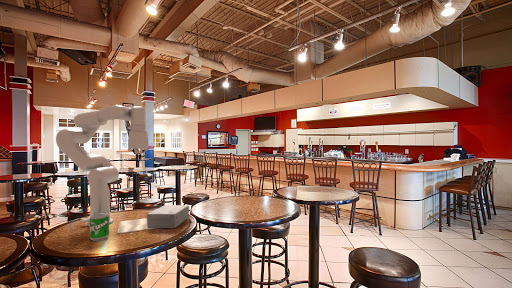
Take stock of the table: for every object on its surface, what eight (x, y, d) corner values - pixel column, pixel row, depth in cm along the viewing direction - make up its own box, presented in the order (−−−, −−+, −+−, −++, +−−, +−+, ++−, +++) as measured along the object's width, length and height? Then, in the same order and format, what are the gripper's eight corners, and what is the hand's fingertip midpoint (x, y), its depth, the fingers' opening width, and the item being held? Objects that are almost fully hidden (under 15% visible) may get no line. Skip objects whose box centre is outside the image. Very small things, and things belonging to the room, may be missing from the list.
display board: (117, 234, 122) (117, 233, 122) (120, 222, 142) (120, 221, 142) (176, 225, 134) (176, 224, 134) (171, 215, 154) (171, 214, 154)
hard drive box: (174, 228, 127) (189, 217, 147) (174, 214, 127) (189, 204, 147) (146, 228, 129) (164, 217, 149) (146, 213, 129) (164, 204, 149)
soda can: (92, 237, 118) (92, 212, 118) (110, 235, 121) (110, 210, 121) (88, 242, 111) (87, 216, 111) (107, 240, 114) (106, 214, 114)
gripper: (122, 128, 132) (123, 162, 132) (152, 128, 138) (153, 161, 138) (123, 129, 139) (123, 161, 138) (152, 129, 145) (152, 160, 145)
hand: (138, 161), depth 138 cm, fingers closed
